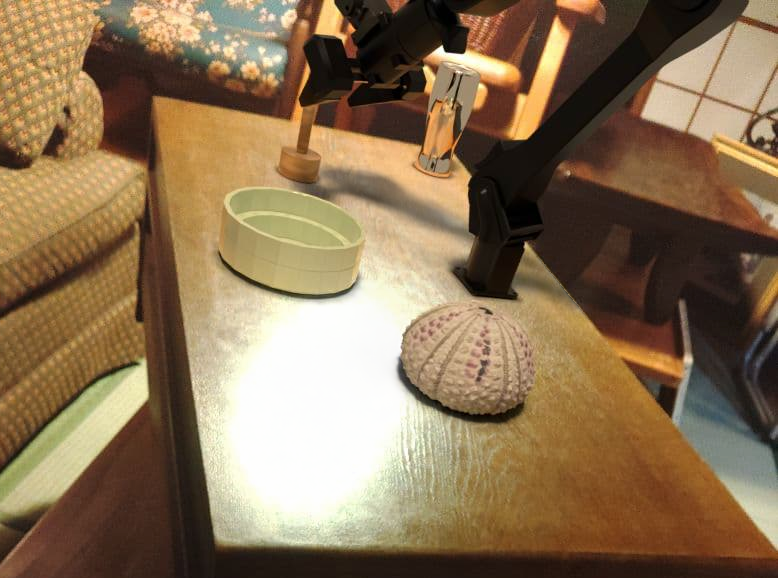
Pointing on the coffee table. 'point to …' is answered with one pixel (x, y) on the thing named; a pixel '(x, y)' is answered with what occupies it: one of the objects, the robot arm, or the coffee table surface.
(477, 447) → the coffee table surface
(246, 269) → the bowl
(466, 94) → the beer glass
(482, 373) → the sea urchin shell
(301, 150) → the wooden stamp
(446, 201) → the coffee table surface
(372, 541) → the coffee table surface
